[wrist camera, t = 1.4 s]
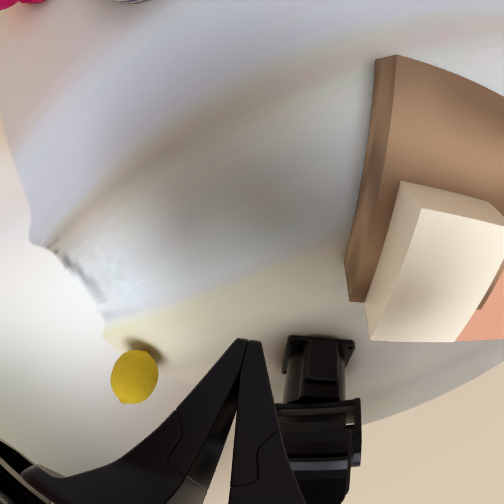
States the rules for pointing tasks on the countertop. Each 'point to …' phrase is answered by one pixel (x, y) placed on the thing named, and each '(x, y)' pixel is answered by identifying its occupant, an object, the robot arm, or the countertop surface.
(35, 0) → the pepper mill
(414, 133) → the board
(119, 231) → the countertop surface
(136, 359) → the lemon
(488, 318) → the mat
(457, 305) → the cream rectangular block
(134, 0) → the energy drink
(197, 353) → the countertop surface
